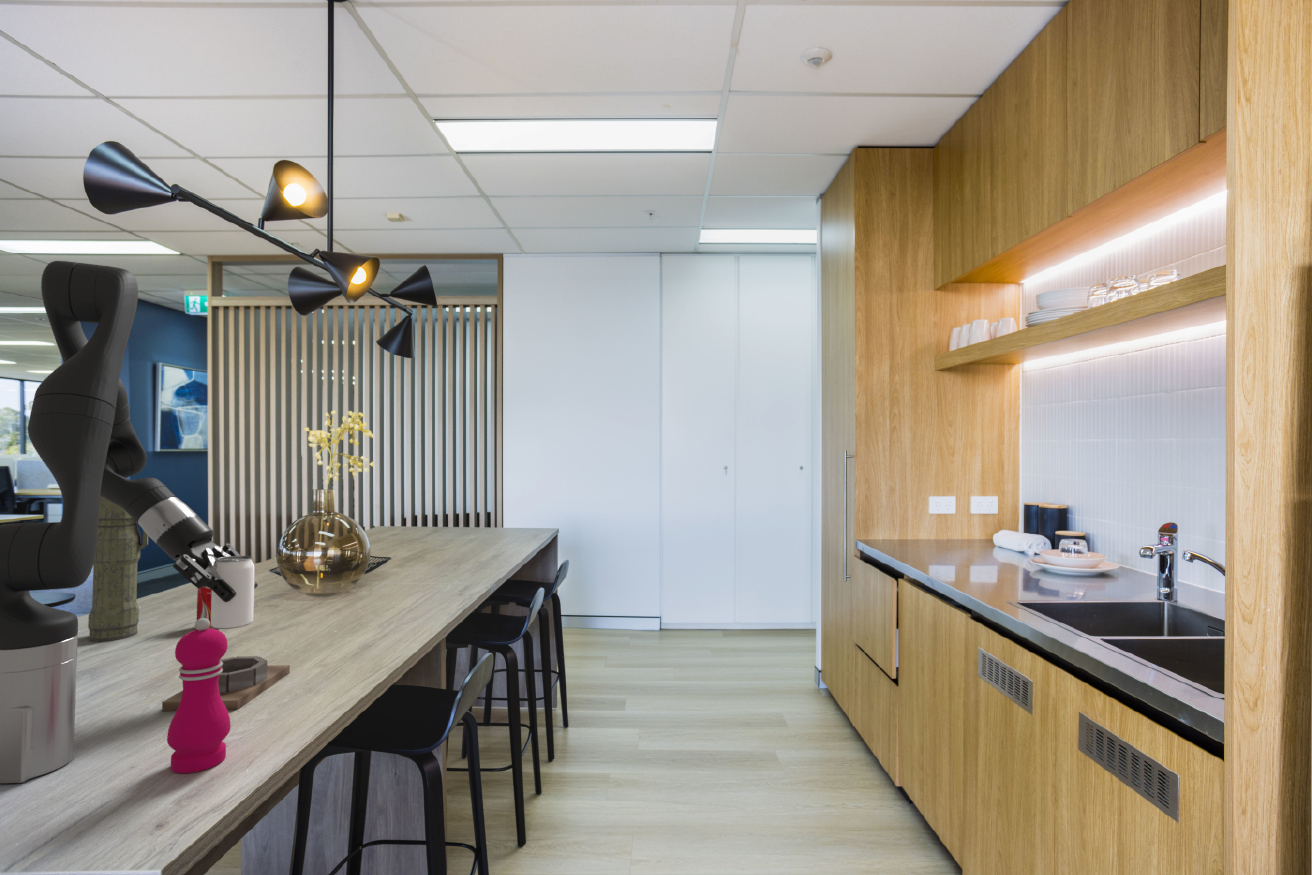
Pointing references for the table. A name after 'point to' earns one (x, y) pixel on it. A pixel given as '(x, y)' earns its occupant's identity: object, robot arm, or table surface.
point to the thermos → (115, 574)
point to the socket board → (238, 694)
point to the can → (241, 580)
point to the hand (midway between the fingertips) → (242, 593)
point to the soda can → (204, 604)
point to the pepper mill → (199, 702)
